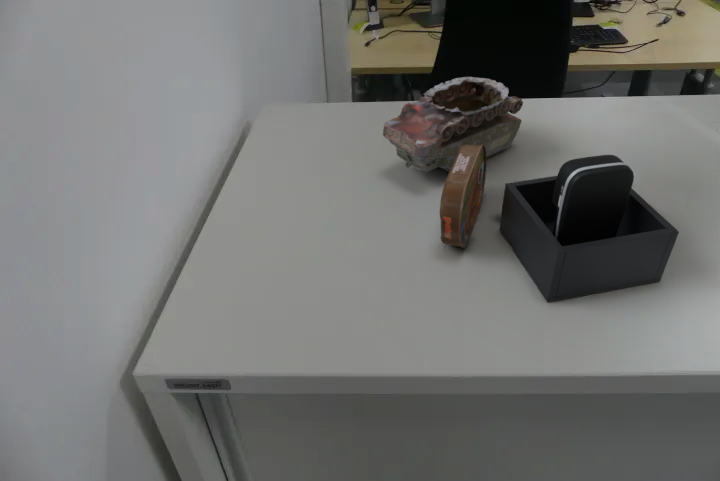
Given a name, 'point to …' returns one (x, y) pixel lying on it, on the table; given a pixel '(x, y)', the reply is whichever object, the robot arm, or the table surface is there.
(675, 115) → the table surface
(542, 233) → the open box
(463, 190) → the tin
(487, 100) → the decorative box
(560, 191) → the battery charger
